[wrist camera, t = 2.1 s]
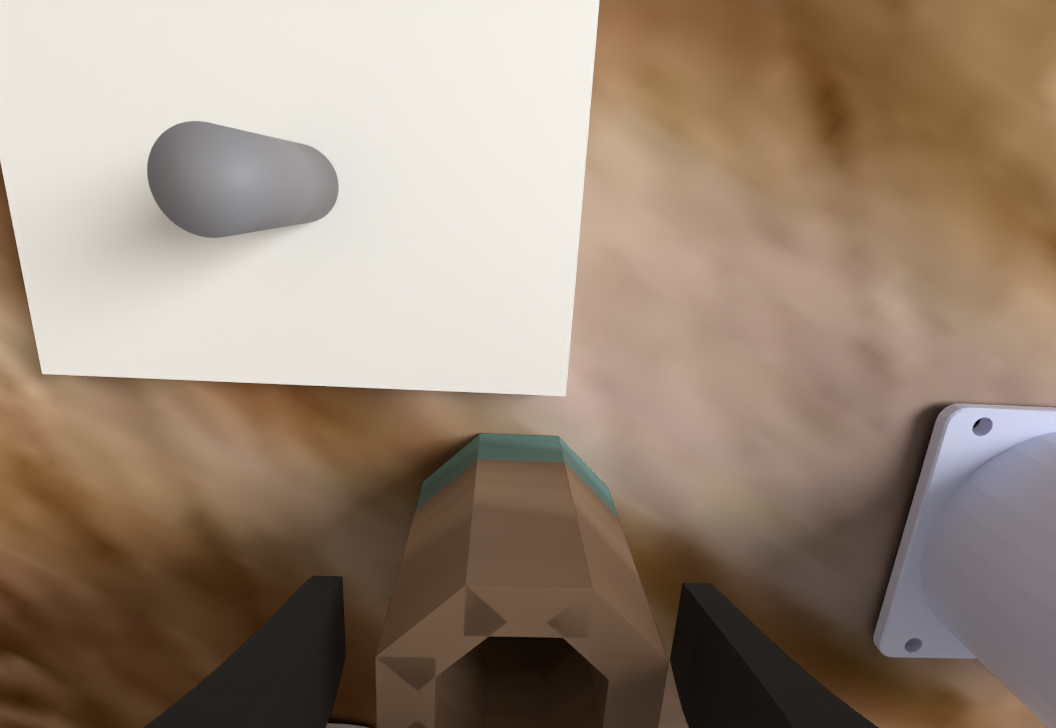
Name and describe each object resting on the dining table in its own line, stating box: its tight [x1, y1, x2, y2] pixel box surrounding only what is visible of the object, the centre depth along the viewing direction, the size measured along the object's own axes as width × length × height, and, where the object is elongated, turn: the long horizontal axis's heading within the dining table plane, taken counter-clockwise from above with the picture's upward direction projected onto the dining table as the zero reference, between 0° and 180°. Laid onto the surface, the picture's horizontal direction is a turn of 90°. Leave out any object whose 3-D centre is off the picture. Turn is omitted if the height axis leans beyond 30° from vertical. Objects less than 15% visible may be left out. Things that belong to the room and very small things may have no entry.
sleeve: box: [375, 433, 669, 728], centre depth 13 cm, size 5×5×6 cm
